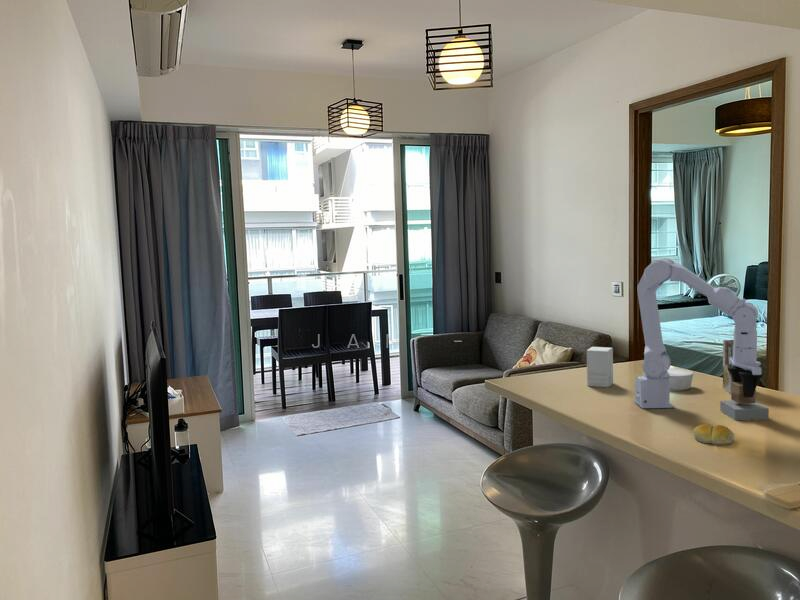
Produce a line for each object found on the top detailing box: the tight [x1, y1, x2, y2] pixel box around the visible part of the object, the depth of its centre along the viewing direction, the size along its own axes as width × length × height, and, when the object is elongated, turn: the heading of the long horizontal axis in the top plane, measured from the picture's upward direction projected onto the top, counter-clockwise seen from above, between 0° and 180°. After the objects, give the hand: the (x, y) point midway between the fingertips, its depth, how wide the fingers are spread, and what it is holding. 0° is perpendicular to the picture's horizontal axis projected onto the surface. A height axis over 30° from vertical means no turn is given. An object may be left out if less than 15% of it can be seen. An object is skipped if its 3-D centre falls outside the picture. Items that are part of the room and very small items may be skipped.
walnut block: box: [730, 382, 757, 404], centre depth 178 cm, size 4×4×5 cm
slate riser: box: [719, 400, 770, 421], centre depth 179 cm, size 9×9×3 cm
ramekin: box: [667, 368, 694, 391], centre depth 212 cm, size 11×11×5 cm
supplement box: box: [585, 346, 614, 388], centre depth 219 cm, size 7×7×13 cm
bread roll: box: [692, 423, 735, 446], centre depth 160 cm, size 8×9×4 cm
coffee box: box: [722, 339, 734, 395], centre depth 203 cm, size 9×6×16 cm
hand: (744, 394), depth 178 cm, fingers open, 5 cm apart
